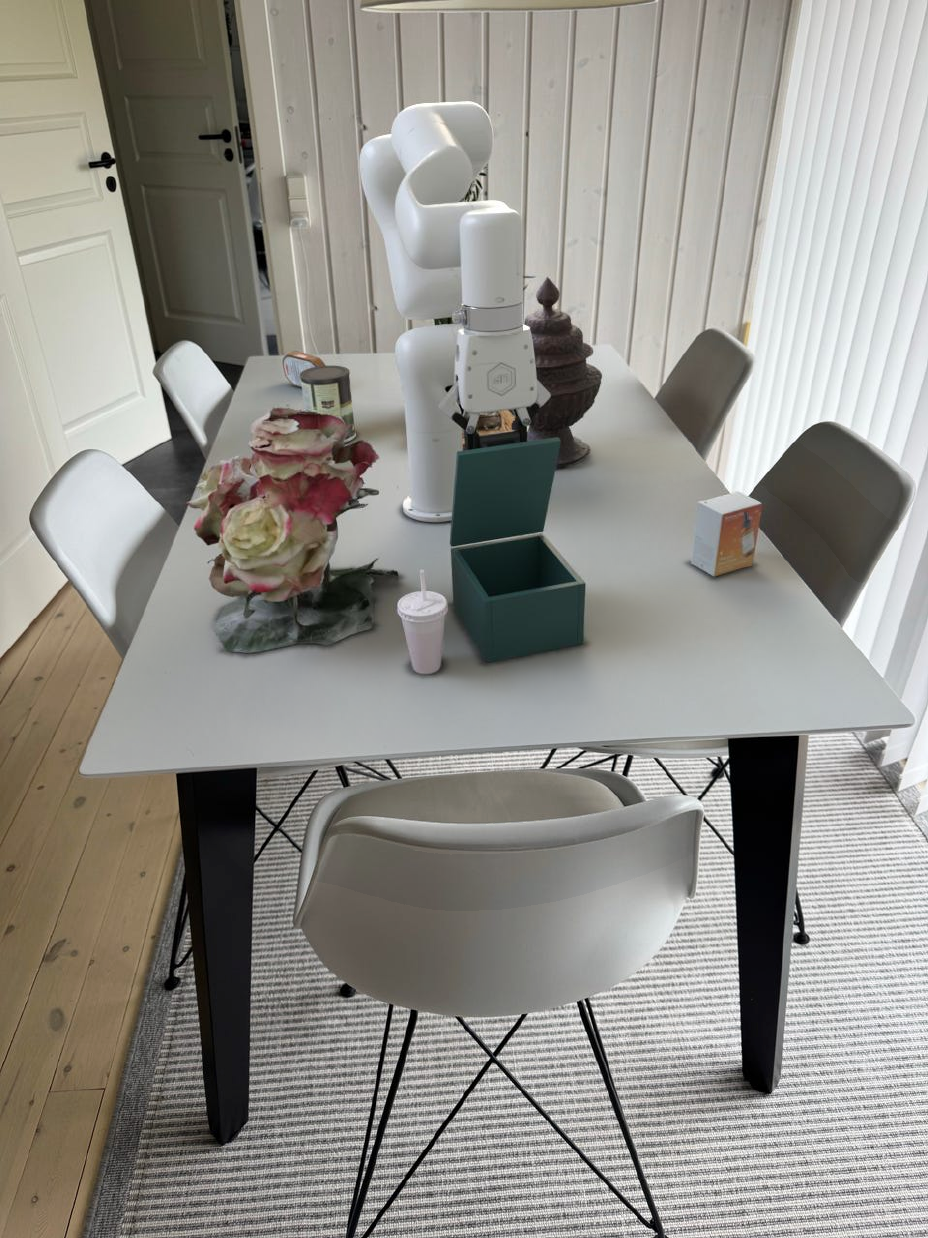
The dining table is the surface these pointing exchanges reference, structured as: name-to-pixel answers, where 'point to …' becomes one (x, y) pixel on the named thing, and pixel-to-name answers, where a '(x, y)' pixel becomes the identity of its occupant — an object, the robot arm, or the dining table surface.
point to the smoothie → (423, 627)
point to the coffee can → (329, 394)
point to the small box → (725, 533)
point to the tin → (299, 365)
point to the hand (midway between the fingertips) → (496, 454)
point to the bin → (517, 596)
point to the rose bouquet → (287, 533)
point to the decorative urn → (561, 376)
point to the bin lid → (502, 488)
